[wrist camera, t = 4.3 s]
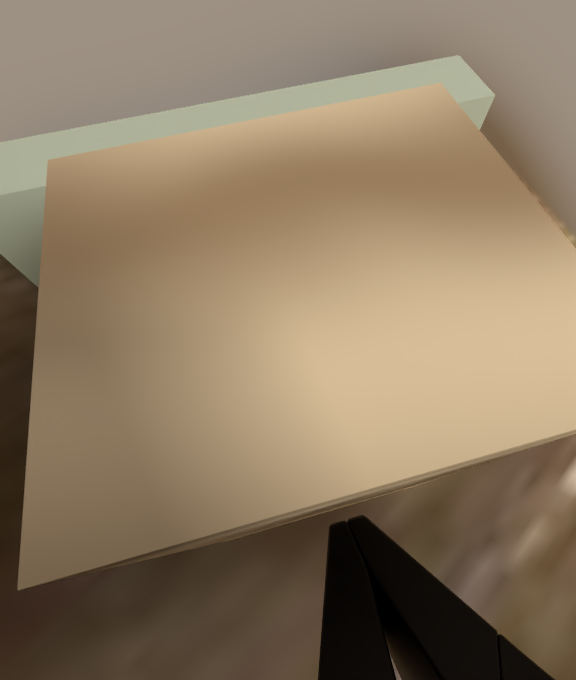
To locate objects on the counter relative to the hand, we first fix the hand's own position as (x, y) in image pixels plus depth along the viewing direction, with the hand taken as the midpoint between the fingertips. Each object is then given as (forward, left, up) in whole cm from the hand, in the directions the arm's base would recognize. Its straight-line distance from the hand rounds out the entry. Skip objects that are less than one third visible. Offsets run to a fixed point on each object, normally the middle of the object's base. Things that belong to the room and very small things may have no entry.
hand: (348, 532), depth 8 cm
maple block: (+3, +3, -7) cm, 8 cm away
